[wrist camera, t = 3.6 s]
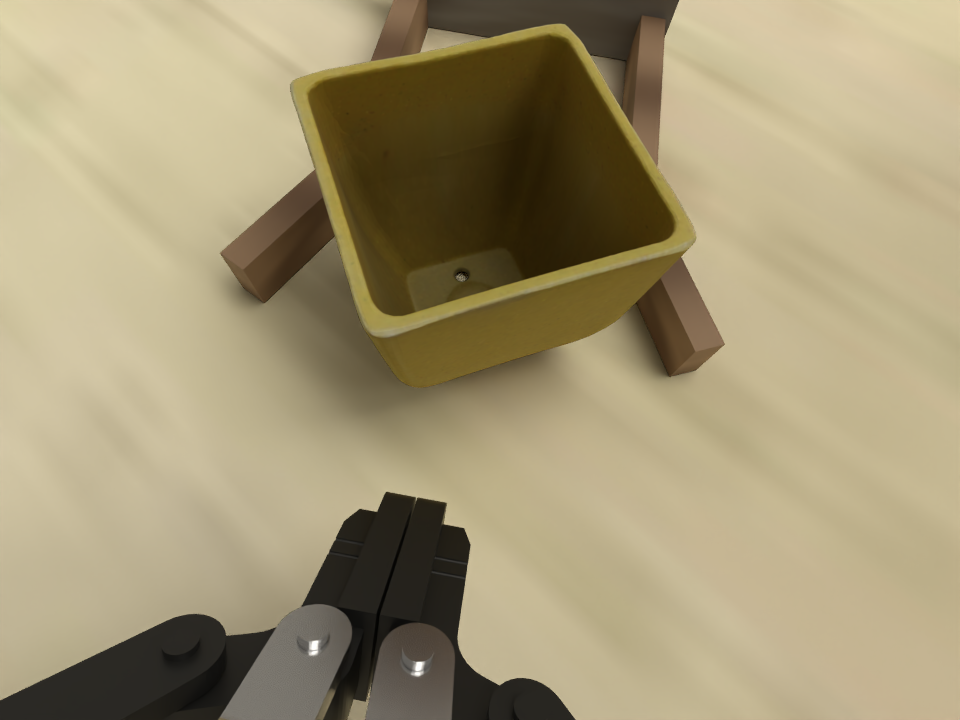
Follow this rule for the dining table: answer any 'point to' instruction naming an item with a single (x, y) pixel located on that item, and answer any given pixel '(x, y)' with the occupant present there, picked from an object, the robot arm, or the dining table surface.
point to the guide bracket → (493, 12)
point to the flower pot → (486, 199)
